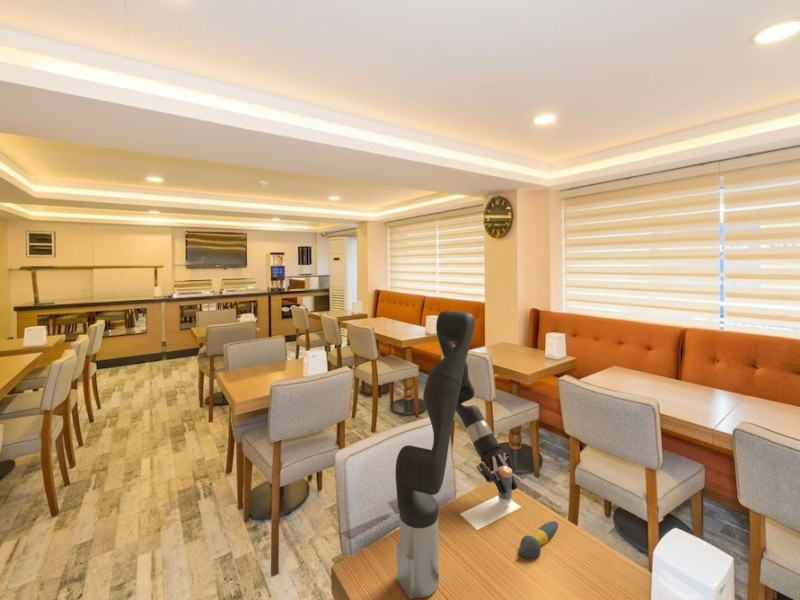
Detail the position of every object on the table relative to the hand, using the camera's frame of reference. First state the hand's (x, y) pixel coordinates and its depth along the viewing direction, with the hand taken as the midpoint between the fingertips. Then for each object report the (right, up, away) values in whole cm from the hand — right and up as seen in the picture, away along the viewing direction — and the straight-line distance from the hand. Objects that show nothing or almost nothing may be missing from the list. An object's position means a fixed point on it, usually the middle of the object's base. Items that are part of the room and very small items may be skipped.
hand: (509, 491), depth 109 cm
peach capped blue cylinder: (-1, -4, +2) cm, 5 cm away
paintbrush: (+4, -8, -12) cm, 15 cm away
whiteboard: (-6, -7, -1) cm, 9 cm away
